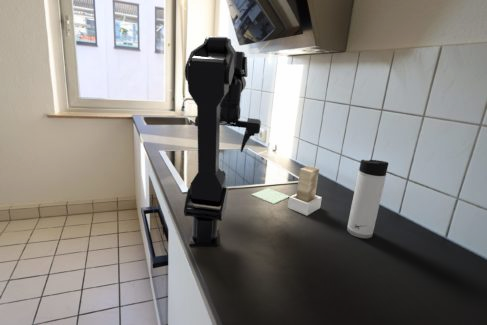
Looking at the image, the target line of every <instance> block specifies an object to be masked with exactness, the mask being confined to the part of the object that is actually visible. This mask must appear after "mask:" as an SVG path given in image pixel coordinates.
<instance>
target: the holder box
mask: <svg viewBox="0 0 487 325" xmlns="http://www.w3.org/2000/svg"><path fill="white" fill-rule="evenodd" d="M296 195H297V193H295V194H293V195H289V196H290V197H289V198H288V202H287V209H290V210H292V211H295V212H297V213H300V214H301V215H304V216H309V215H311V214H312V213H314V212H315V211H317V210H319V209H320V208H321V205H322V204H321V203H322V200H323V199H322V198H323V197H322V196H319V195H316V194H315V199H314V200H312V201H310V202H308V203H307V202H304V201H301V200H299V199H296Z"/></svg>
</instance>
